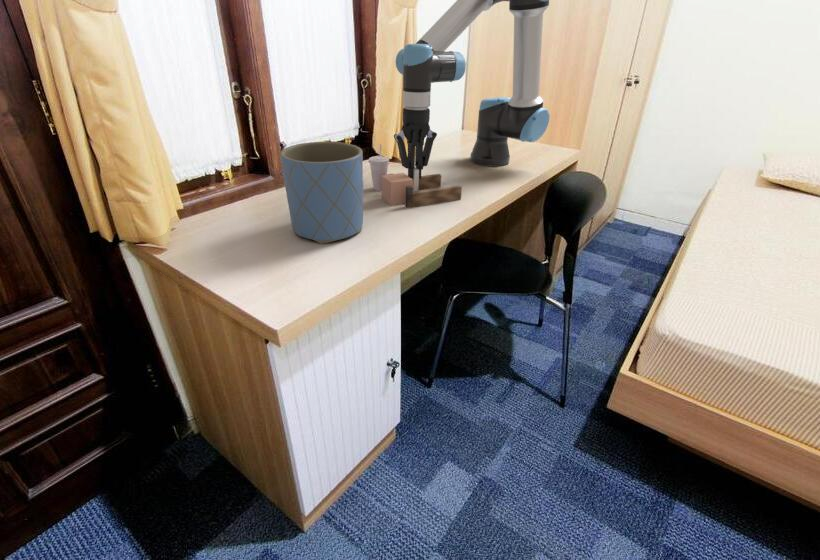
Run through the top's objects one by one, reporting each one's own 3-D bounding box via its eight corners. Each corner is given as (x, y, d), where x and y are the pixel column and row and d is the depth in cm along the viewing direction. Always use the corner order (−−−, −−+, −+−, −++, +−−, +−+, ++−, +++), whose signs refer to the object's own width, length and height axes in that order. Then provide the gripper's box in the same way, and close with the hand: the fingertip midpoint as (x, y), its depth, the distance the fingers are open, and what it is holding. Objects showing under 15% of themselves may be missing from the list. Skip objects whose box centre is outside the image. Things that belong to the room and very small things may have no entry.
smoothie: (386, 193, 136) (386, 147, 129) (367, 191, 137) (365, 146, 130) (391, 186, 142) (391, 142, 135) (372, 184, 143) (371, 141, 136)
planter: (380, 230, 112) (379, 152, 102) (318, 253, 101) (309, 168, 90) (336, 209, 124) (331, 137, 113) (276, 228, 112) (264, 149, 102)
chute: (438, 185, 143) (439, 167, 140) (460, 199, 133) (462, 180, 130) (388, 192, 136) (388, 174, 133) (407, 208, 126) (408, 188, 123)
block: (402, 194, 135) (403, 172, 132) (412, 202, 130) (413, 179, 126) (381, 197, 132) (381, 175, 129) (391, 205, 127) (391, 182, 123)
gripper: (430, 104, 125) (427, 183, 137) (389, 106, 120) (389, 188, 132) (443, 108, 119) (438, 190, 132) (400, 111, 114) (400, 196, 127)
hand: (414, 189), depth 132 cm, fingers closed
